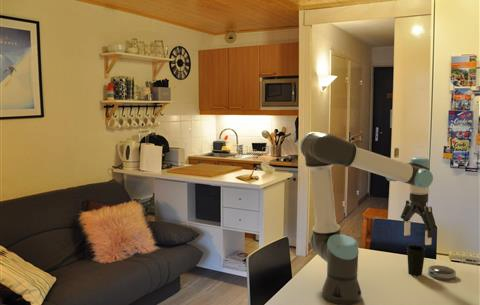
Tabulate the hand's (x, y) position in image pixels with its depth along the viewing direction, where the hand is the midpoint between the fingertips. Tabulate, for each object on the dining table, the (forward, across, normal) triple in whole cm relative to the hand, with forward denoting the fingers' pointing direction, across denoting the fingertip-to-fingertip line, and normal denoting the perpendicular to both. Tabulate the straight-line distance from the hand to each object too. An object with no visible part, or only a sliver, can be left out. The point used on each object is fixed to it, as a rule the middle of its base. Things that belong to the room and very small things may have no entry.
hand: (417, 239), depth 190 cm
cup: (+16, 0, 0) cm, 16 cm away
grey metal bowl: (+16, -5, -10) cm, 19 cm away
